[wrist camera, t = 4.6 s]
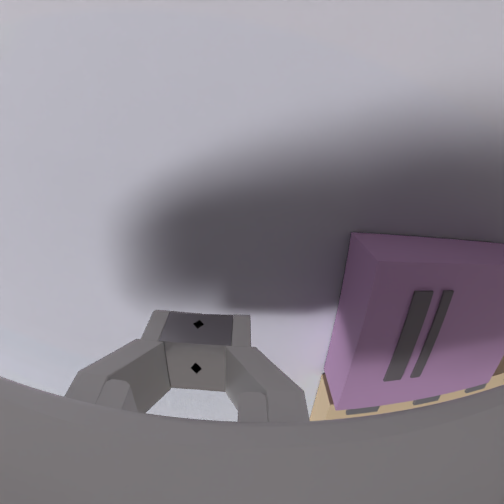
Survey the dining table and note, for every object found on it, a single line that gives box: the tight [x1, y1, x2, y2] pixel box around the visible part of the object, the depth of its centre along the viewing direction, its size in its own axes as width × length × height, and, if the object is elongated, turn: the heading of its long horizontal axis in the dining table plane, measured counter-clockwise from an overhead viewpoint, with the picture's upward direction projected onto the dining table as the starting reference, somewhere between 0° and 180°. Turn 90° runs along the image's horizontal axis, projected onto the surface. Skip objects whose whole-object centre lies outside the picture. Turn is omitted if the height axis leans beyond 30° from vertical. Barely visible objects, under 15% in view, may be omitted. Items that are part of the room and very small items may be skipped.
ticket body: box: [309, 356, 504, 421], centre depth 13 cm, size 6×16×2 cm, turn 87°
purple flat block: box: [324, 232, 504, 411], centre depth 10 cm, size 6×8×2 cm
